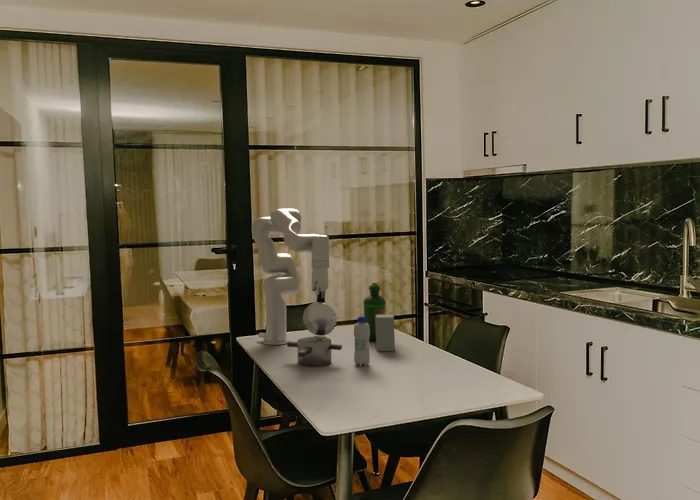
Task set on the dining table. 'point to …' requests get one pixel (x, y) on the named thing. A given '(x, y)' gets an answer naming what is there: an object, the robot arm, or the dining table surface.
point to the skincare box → (385, 332)
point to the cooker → (314, 351)
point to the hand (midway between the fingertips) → (321, 307)
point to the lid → (319, 318)
